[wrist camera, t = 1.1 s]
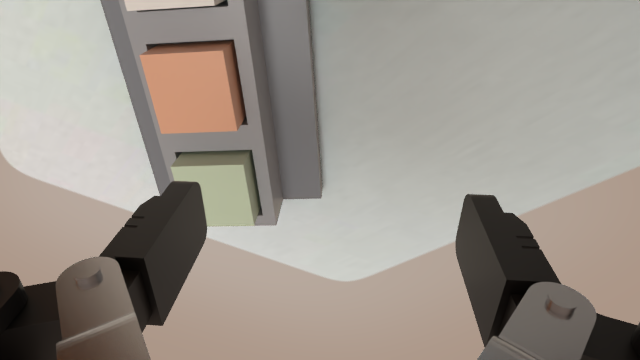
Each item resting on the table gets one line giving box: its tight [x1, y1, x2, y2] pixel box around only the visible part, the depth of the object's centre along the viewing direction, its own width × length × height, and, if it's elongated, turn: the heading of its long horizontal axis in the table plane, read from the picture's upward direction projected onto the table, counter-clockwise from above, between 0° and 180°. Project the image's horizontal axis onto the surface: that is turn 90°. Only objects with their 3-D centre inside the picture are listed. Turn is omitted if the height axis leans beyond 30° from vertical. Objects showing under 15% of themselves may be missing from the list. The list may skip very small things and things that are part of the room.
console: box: [101, 0, 322, 226], centre depth 31 cm, size 15×24×6 cm, turn 4°
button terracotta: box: [139, 40, 246, 134], centre depth 29 cm, size 5×5×3 cm
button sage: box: [171, 150, 261, 226], centre depth 33 cm, size 5×5×3 cm
